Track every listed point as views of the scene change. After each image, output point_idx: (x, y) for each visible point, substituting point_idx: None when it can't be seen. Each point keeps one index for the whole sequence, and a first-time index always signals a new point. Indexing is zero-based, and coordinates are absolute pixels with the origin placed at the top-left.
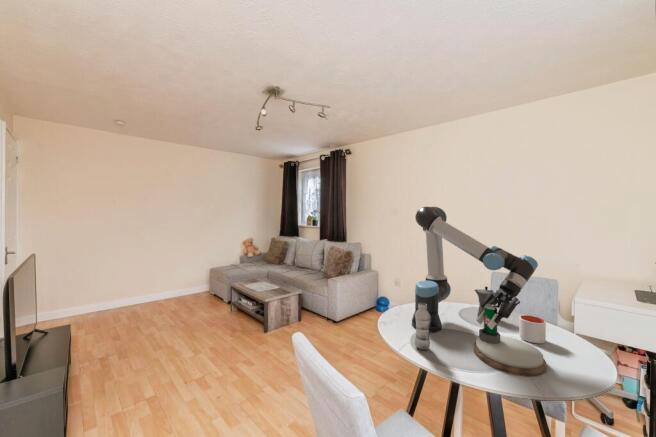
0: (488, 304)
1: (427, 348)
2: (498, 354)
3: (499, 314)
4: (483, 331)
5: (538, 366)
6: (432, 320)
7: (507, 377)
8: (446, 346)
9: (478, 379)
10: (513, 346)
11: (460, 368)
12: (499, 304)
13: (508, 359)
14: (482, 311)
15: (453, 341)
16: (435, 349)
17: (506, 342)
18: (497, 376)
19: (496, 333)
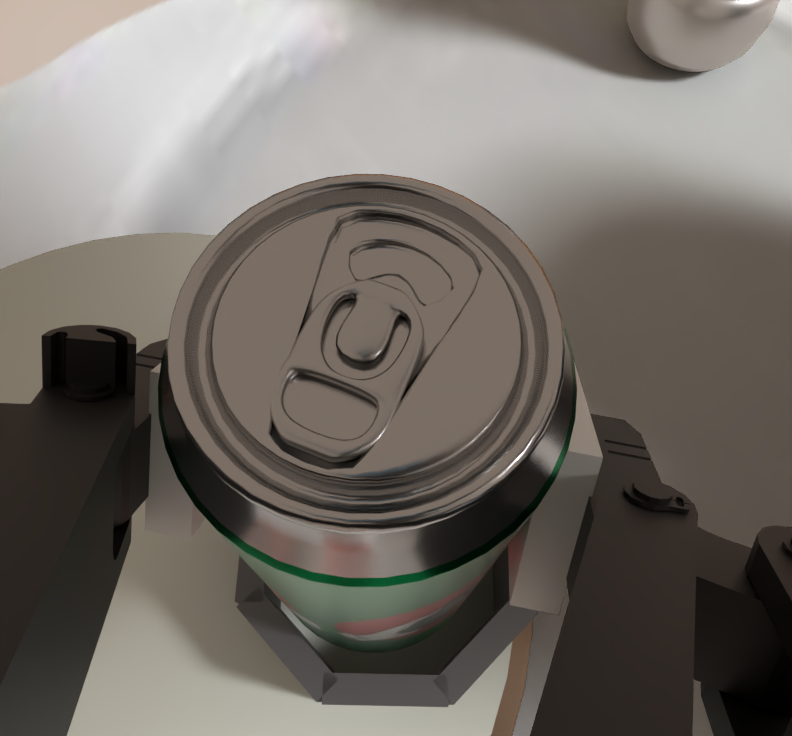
0: (477, 364)
1: (627, 17)
2: (126, 296)
3: (73, 370)
4: (503, 571)
5: None
6: None
7: (29, 239)
8: (631, 230)
9: (160, 54)
10: (90, 677)
11: (315, 60)
12: None
13: (14, 288)
14: (586, 414)
15: (695, 378)
16: (622, 111)
17: (206, 715)
18: (88, 188)
19: (337, 673)
